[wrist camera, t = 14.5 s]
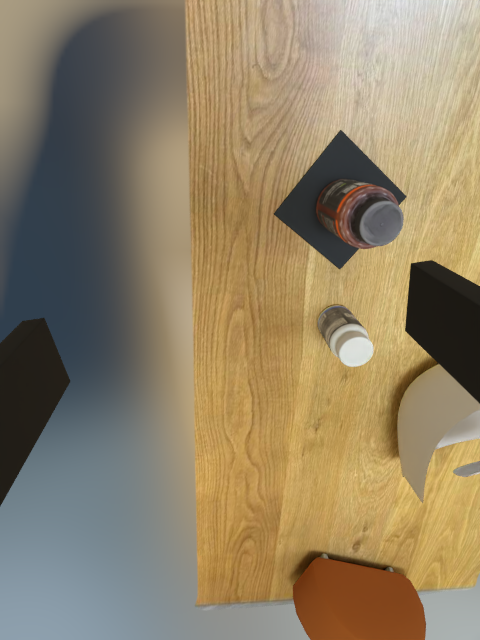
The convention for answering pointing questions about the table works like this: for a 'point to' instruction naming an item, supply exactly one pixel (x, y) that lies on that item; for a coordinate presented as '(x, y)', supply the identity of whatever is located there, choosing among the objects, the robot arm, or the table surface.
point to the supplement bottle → (360, 213)
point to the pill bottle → (345, 336)
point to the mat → (329, 167)
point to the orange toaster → (357, 603)
